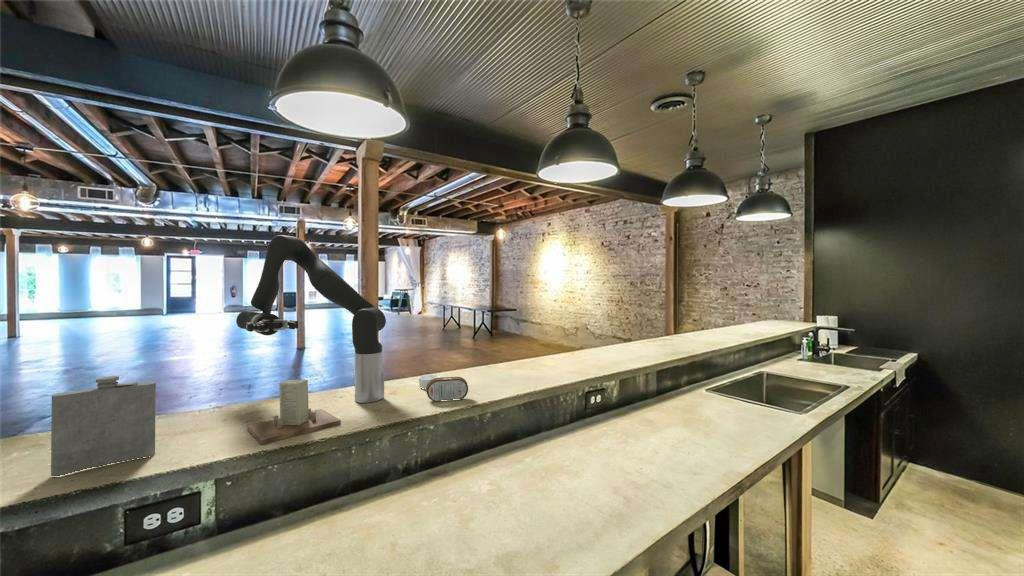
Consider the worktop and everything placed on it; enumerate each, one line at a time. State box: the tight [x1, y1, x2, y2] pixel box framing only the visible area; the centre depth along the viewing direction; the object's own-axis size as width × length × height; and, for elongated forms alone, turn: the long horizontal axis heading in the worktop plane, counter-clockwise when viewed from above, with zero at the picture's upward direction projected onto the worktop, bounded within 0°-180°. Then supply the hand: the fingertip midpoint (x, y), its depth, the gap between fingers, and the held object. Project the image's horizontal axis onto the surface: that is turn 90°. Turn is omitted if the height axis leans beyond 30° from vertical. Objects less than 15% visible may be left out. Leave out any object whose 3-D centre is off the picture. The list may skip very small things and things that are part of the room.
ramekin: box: [418, 374, 441, 388], centre depth 150 cm, size 9×9×4 cm
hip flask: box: [50, 375, 157, 477], centre depth 84 cm, size 16×4×20 cm, turn 133°
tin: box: [425, 376, 469, 402], centre depth 132 cm, size 15×3×8 cm, turn 106°
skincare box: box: [278, 379, 309, 425], centre depth 107 cm, size 6×4×12 cm
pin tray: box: [247, 407, 342, 446], centre depth 107 cm, size 20×15×4 cm
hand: (279, 327), depth 118 cm, fingers open, 8 cm apart
